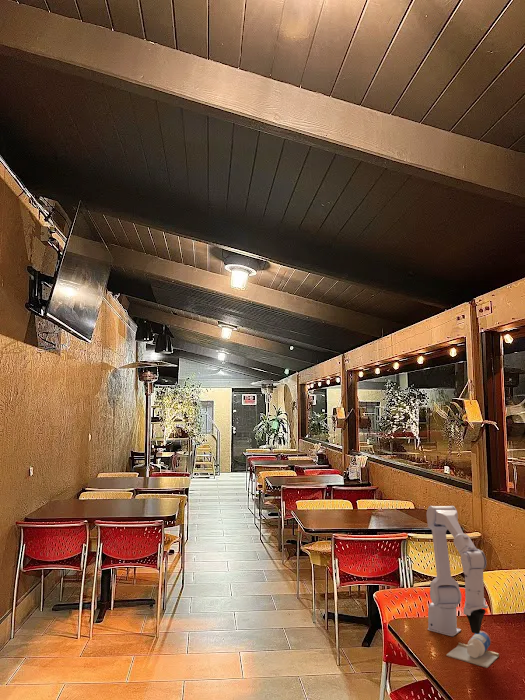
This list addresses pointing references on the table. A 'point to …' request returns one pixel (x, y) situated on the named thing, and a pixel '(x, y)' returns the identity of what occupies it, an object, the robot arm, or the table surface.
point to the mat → (463, 655)
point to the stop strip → (485, 651)
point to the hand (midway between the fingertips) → (475, 632)
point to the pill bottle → (478, 644)
